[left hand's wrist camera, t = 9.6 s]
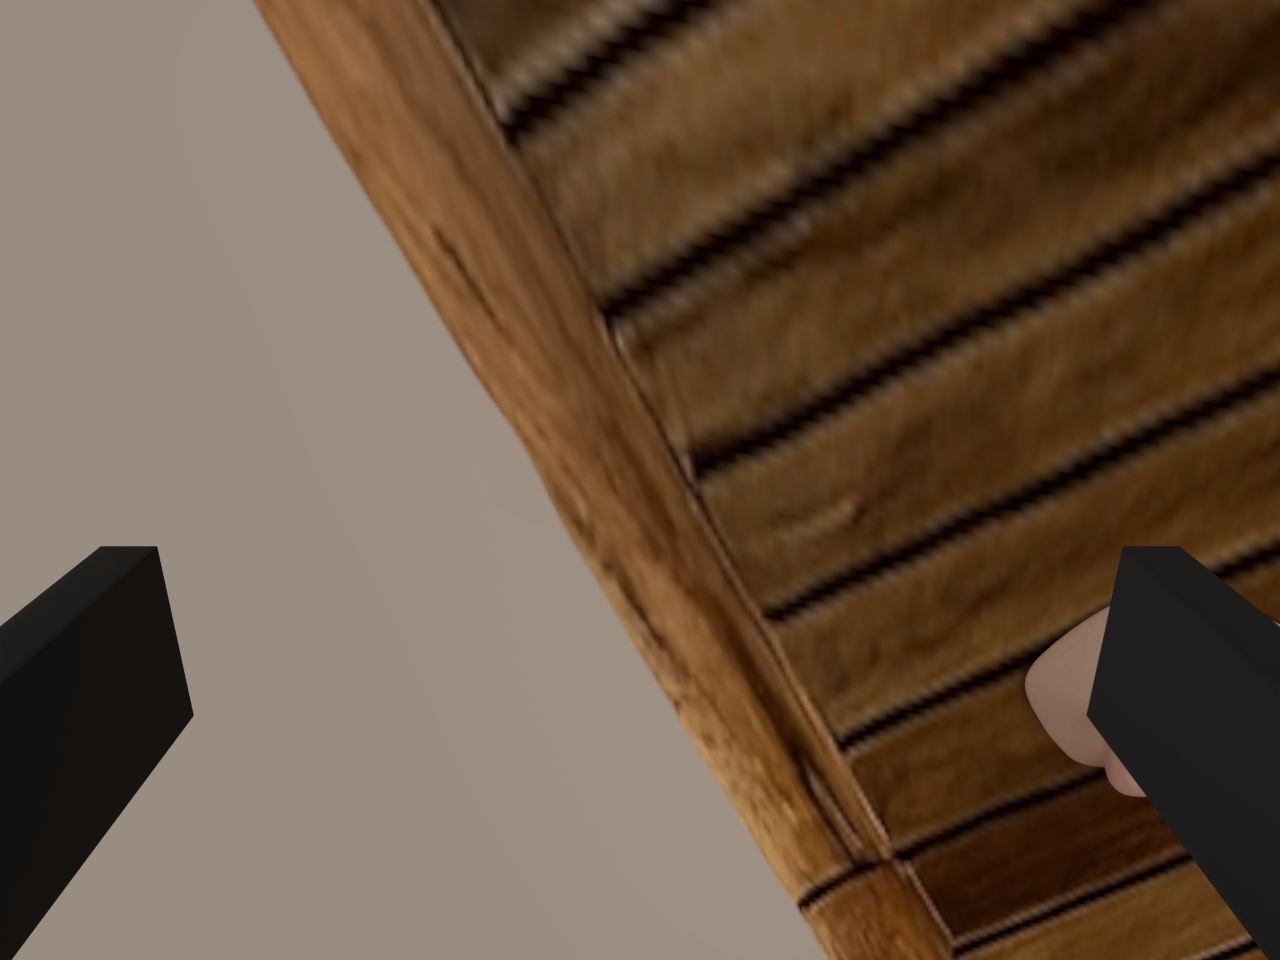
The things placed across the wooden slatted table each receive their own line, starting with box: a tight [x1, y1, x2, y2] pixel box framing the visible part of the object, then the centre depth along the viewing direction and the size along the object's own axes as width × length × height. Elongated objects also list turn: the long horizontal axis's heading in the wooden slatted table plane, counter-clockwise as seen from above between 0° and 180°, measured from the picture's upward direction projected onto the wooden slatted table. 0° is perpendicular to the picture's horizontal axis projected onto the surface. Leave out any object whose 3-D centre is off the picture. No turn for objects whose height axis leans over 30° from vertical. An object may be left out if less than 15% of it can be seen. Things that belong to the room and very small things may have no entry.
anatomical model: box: [1025, 606, 1280, 797], centre depth 45 cm, size 13×4×12 cm
